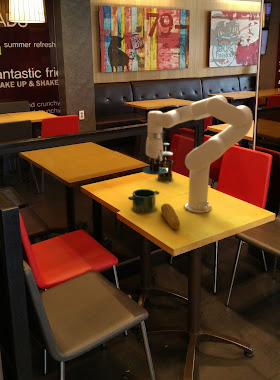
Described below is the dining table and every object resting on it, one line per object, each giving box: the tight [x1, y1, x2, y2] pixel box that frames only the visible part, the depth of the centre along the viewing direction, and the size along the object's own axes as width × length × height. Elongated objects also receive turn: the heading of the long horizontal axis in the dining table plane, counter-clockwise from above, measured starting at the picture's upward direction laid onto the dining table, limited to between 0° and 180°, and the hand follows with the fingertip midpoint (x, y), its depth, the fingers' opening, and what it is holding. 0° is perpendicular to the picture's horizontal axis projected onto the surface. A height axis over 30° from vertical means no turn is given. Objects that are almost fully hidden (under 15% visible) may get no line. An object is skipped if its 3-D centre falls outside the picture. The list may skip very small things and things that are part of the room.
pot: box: [128, 188, 160, 214], centre depth 197 cm, size 11×17×8 cm
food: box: [160, 203, 181, 230], centre depth 183 cm, size 21×6×6 cm, turn 13°
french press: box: [156, 142, 174, 183], centre depth 241 cm, size 12×9×23 cm
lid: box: [142, 159, 166, 176], centre depth 205 cm, size 12×12×7 cm
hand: (154, 169), depth 206 cm, fingers closed on lid, 2 cm apart
